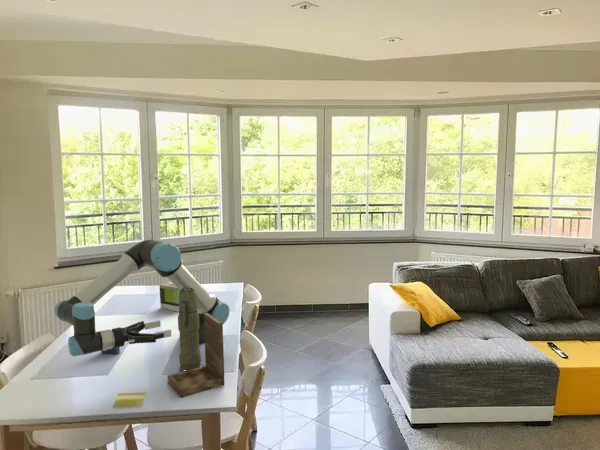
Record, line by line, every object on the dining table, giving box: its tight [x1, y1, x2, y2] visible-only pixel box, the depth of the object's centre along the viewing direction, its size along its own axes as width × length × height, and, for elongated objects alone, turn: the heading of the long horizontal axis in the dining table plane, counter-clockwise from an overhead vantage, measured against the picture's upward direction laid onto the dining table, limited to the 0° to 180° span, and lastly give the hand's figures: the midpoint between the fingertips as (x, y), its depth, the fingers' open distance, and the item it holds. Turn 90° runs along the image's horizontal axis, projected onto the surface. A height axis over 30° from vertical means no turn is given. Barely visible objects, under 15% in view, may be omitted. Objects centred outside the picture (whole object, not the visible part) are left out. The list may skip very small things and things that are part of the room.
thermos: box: [177, 288, 202, 371], centre depth 207 cm, size 9×12×35 cm
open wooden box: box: [167, 313, 226, 399], centre depth 192 cm, size 18×15×26 cm
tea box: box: [159, 281, 180, 313], centre depth 289 cm, size 15×10×15 cm, turn 58°
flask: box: [100, 347, 121, 355], centre depth 224 cm, size 9×3×11 cm, turn 78°
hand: (165, 327), depth 201 cm, fingers open, 13 cm apart
